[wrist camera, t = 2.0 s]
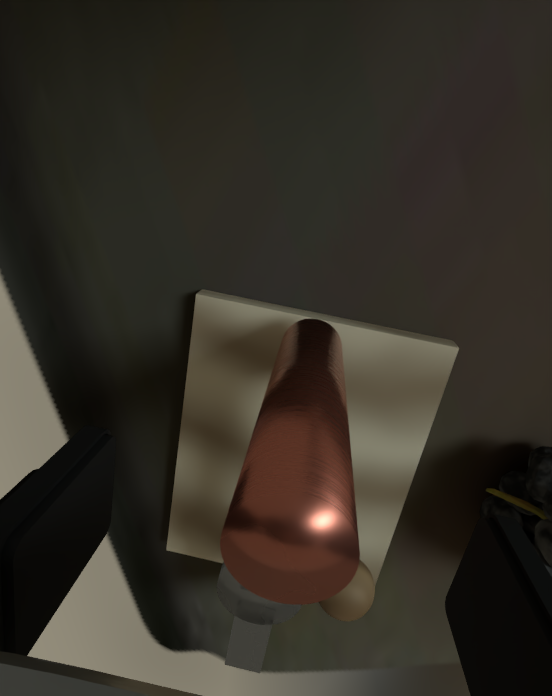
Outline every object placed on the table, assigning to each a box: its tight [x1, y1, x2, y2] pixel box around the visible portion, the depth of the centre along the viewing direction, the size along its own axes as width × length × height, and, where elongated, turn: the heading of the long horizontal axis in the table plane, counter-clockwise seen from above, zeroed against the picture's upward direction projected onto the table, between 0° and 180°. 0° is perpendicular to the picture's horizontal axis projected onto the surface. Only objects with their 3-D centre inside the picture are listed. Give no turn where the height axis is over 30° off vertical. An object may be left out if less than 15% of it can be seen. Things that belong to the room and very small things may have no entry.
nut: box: [319, 560, 375, 621], centre depth 26 cm, size 4×4×4 cm
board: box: [166, 289, 459, 586], centre depth 25 cm, size 18×14×5 cm
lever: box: [217, 319, 360, 673], centre depth 19 cm, size 19×4×14 cm, turn 170°
